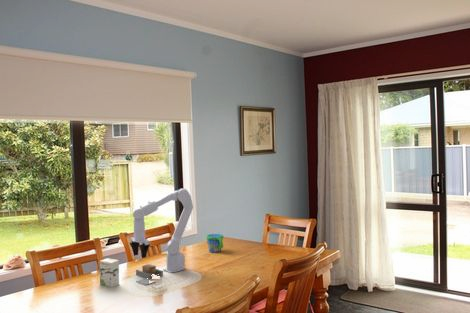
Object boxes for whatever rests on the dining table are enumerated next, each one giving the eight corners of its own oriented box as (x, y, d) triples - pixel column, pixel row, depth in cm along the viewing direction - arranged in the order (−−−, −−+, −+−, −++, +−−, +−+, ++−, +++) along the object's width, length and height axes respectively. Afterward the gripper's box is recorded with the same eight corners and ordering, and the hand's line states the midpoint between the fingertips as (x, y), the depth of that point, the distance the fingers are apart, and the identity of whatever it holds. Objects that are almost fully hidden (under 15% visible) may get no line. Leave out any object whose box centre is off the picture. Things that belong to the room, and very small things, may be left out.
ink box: (99, 284, 204) (98, 260, 204) (107, 281, 208) (106, 257, 208) (112, 287, 200) (111, 262, 200) (119, 284, 204) (119, 259, 204)
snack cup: (228, 253, 260) (227, 236, 260) (212, 255, 255) (212, 238, 255) (217, 247, 274) (217, 232, 273) (202, 250, 269) (202, 234, 268)
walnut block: (149, 273, 221) (149, 264, 221) (155, 275, 217) (155, 265, 217) (142, 275, 218) (142, 265, 217) (148, 277, 214) (148, 267, 214)
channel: (149, 271, 224) (149, 266, 224) (163, 275, 216) (162, 270, 216) (136, 274, 218) (135, 270, 218) (149, 279, 210) (149, 274, 210)
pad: (146, 279, 211) (146, 278, 211) (155, 282, 206) (155, 281, 206) (136, 281, 207) (136, 281, 207) (145, 285, 201) (145, 284, 201)
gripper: (125, 230, 225) (125, 255, 225) (140, 233, 215) (141, 260, 215) (136, 228, 230) (137, 253, 230) (152, 231, 220) (152, 257, 220)
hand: (139, 256), depth 223 cm, fingers open, 7 cm apart
